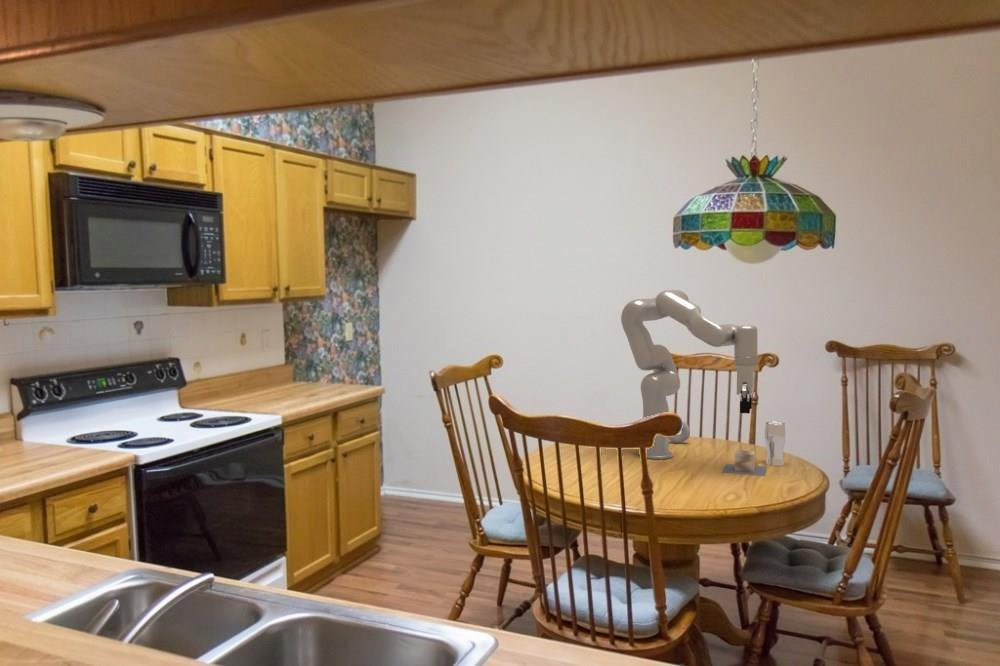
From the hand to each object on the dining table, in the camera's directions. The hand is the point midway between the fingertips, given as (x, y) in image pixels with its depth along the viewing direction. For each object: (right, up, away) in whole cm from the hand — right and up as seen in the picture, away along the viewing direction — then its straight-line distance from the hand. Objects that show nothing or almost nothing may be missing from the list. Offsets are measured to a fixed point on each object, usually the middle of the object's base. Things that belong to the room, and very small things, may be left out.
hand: (745, 410), depth 257 cm
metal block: (0, -20, +1) cm, 20 cm away
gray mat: (0, -21, +1) cm, 21 cm away
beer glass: (+14, -21, +10) cm, 27 cm away
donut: (-12, -19, +48) cm, 53 cm away
